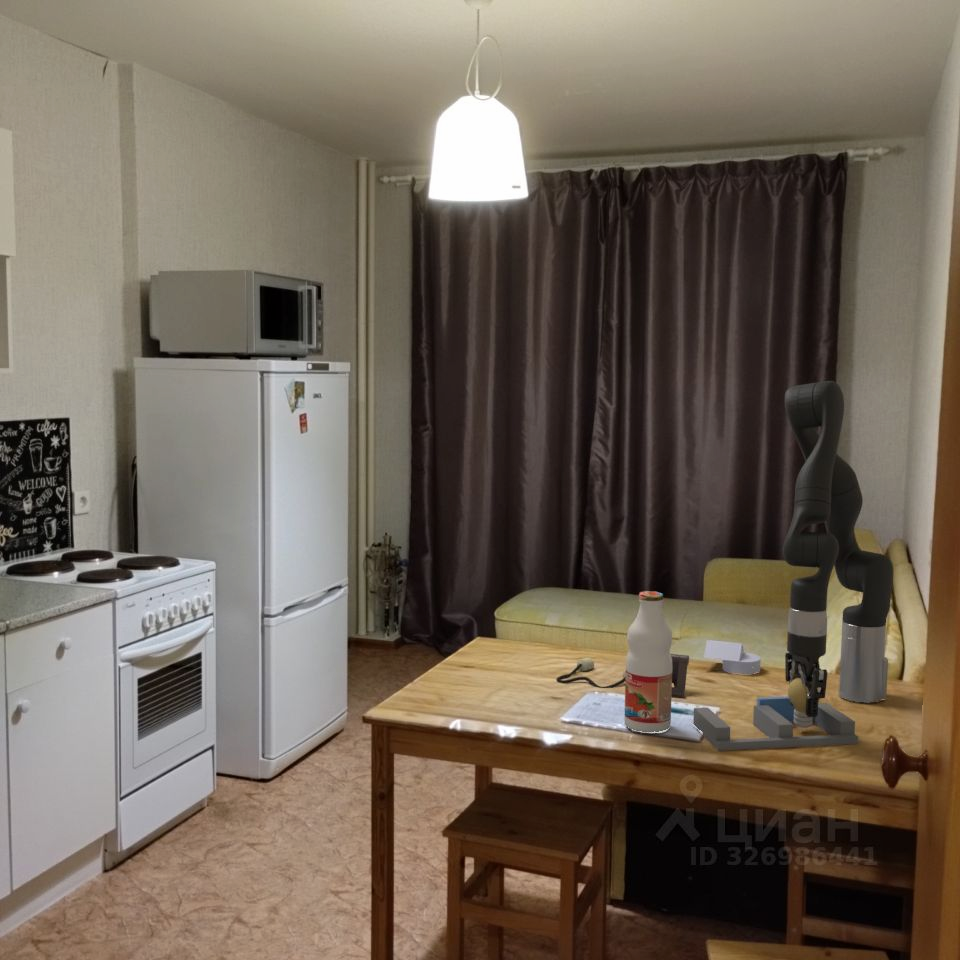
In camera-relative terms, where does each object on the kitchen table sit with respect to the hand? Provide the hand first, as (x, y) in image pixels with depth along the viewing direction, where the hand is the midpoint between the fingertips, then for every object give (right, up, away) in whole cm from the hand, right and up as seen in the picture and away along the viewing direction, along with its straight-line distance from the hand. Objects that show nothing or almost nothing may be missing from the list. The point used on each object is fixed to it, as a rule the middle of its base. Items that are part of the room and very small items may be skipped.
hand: (803, 710), depth 213 cm
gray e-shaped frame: (-6, -5, -1) cm, 8 cm away
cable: (-38, -1, +36) cm, 52 cm away
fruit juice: (-31, -4, +3) cm, 32 cm away
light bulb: (0, -3, 0) cm, 3 cm away
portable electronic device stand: (-23, -2, +27) cm, 36 cm away
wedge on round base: (-3, 0, +45) cm, 45 cm away
